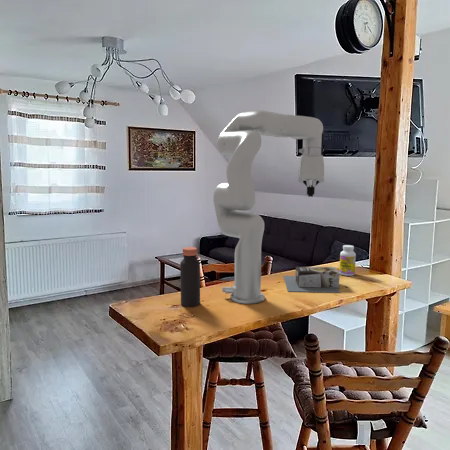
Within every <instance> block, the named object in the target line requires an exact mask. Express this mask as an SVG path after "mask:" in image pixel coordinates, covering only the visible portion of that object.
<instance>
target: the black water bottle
mask: <svg viewBox="0 0 450 450" xmlns="http://www.w3.org/2000/svg"><path fill="white" fill-rule="evenodd" d="M197 255H198V248H197V247H194V246H186V247H183V248H182V256H183V259H181V261H180V265H179V266H180V273H179V274H180V304H181V306H183V307H186V308H187V307H188V308H193V307H197V306H199V305H200V304H201V262H200V261H199V259H197Z"/></svg>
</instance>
